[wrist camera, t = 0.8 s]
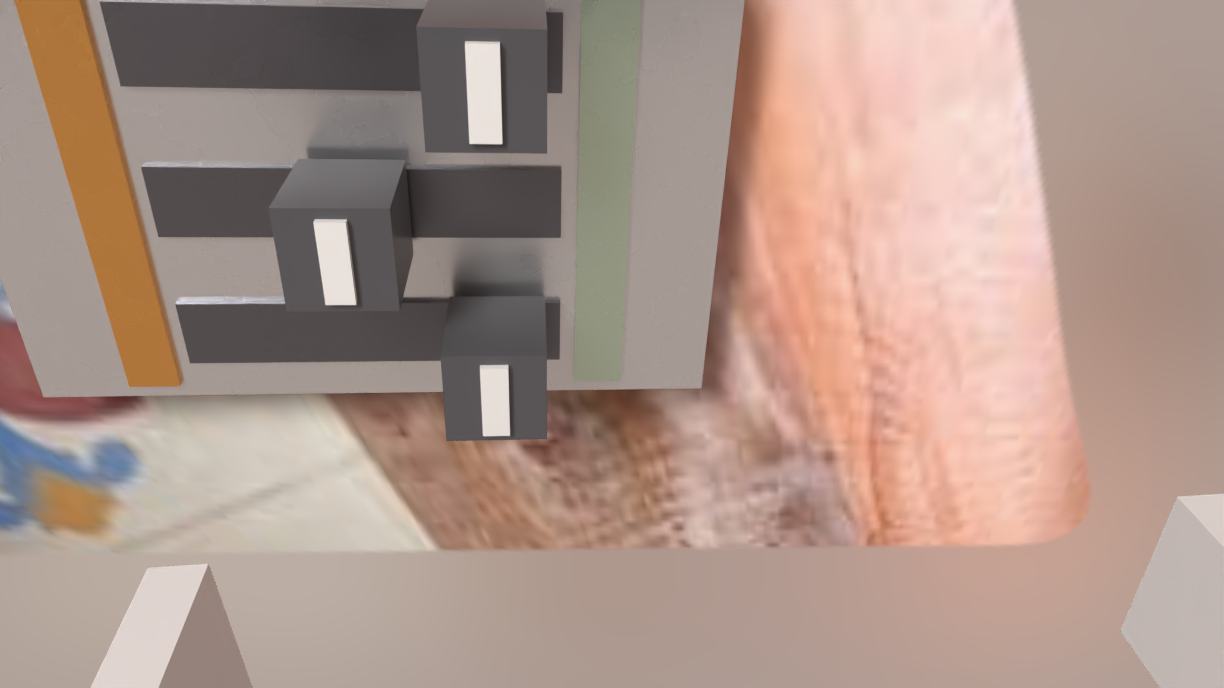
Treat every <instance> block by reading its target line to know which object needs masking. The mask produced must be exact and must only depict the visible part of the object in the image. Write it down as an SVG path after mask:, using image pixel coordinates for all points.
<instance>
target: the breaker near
mask: <svg viewBox="0 0 1224 688" xmlns="http://www.w3.org/2000/svg"><path fill="white" fill-rule="evenodd" d="M416 31H417V45H418V59H419V72H420V86H421V99H422V113H423V127H424V140H425V152H429V153H530V154H547V19H546V7H545V0H428V2H427V4H426V6H425V8H424V11H423V13H422V15H421V17H420V19H419V22H418V24H417V26H416Z"/></svg>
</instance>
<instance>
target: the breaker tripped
mask: <svg viewBox="0 0 1224 688" xmlns="http://www.w3.org/2000/svg"><path fill="white" fill-rule="evenodd" d="M269 214H270V220H271V226H272V231H273V237H274V243H275V248H276V254H277V260H278V265H279V271H280V277H281V282H282V288H283V294H284V300H285V305H286V311H400V308H401V304H402V300H403V296H404V291H405V287H406V283H407V279H408V275H409V271H410V267H411V262H412V258H413V254H414V253H413V241H412V229H411V218H410V206H409V195H408V183H407V171H406V160H376V159H298V160H297V162H296V164H295V165H294V167H293V169H292V170H291V172H290V173H289V175H288V177H287V178H286V180H285V182H284V183H283V185H282V187H281V188H280V190H279V192H278V193H277V195H276V197H275V198H274V200H273V201H272V203H271V205H270V206H269Z"/></svg>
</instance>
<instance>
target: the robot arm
mask: <svg viewBox="0 0 1224 688" xmlns="http://www.w3.org/2000/svg"><path fill="white" fill-rule="evenodd" d="M1120 631H1121V633H1122V634H1123V636H1124V637H1125V639H1126V640H1127V641H1128V643H1129V644H1130V646H1131V647H1132V649H1133V650H1134V651H1135V653H1136V654H1137V656H1138V657H1139V658H1140V660H1141V661H1142V663H1143V664H1144V665H1145V667H1146V669H1147V670H1148V671H1149V673H1150V674H1151V676H1152V677H1153V679H1154V680H1155V681H1156V683H1157V684H1158V686H1159V687H1160V688H1224V494H1211V495H1196V496H1181V497H1177V499H1176V501H1175V504H1174V506H1173V508H1172V511H1171V513H1170V515H1169V518H1168V520H1167V522H1166V525H1165V527H1164V529H1163V532H1162V534H1161V536H1160V539H1159V541H1158V543H1157V546H1156V548H1155V550H1154V553H1153V555H1152V558H1151V560H1150V562H1149V564H1148V567H1147V569H1146V572H1145V574H1144V576H1143V579H1142V581H1141V583H1140V586H1139V588H1138V590H1137V593H1136V595H1135V597H1134V600H1133V602H1132V604H1131V607H1130V609H1129V612H1128V614H1127V616H1126V618H1125V621H1124V623H1123V625H1122V628H1121V630H1120ZM90 688H252V685H251V682H250V679H249V677H248V674H247V671H246V668H245V665H244V662H243V660H242V657H241V654H240V651H239V649H238V645H237V643H236V640H235V637H234V634H233V631H232V628H231V626H230V623H229V620H228V617H227V614H226V612H225V609H224V606H223V603H222V600H221V597H220V595H219V592H218V589H217V586H216V583H215V581H214V578H213V575H212V572H211V569H210V567H209V564H197V565H182V566H167V567H153V568H147V570H146V573H145V575H144V577H143V579H142V581H141V583H140V585H139V587H138V589H137V591H136V593H135V596H134V598H133V600H132V602H131V604H130V606H129V608H128V610H127V612H126V614H125V617H124V619H123V621H122V623H121V625H120V627H119V629H118V631H117V633H116V635H115V637H114V639H113V641H112V644H111V646H110V648H109V650H108V652H107V654H106V656H105V658H104V660H103V663H102V664H101V667H100V669H99V671H98V673H97V675H96V677H95V679H94V681H93V683H92V685H91V687H90Z"/></svg>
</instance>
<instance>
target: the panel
mask: <svg viewBox="0 0 1224 688" xmlns="http://www.w3.org/2000/svg"><path fill="white" fill-rule="evenodd" d="M427 2H428V0H0V278H1V281H2V283H3V286H4V289H5V292H6V294H7V297H8V300H9V303H10V306H11V308H12V311H13V314H14V317H15V319H16V322H17V325H18V328H19V330H20V333H21V336H22V339H23V341H24V344H25V347H26V350H27V353H28V355H29V358H30V361H31V364H32V366H33V369H34V372H35V375H36V377H37V380H38V383H39V386H40V388H41V391H42V394H43V397H94V396H168V395H242V394H317V393H391V392H443V385H442V372H441V358H440V356H441V350H442V343H443V336H444V330H445V323H446V316H447V310H448V303H449V297H485V296H545V313H546V342H547V390H614V389H688V388H701V387H702V379H703V370H704V361H705V352H706V343H707V334H708V325H709V316H710V307H711V298H712V289H713V280H714V271H715V262H716V253H717V245H718V236H719V227H720V218H721V209H722V200H723V191H724V182H725V173H726V164H727V155H728V146H729V137H730V128H731V120H732V111H733V102H734V93H735V84H736V75H737V66H738V57H739V48H740V39H741V30H742V21H743V12H744V3H745V0H545V7H546V19H547V154H530V153H429V152H425V140H424V127H423V113H422V99H421V86H420V72H419V59H418V45H417V31H416V26H417V24H418V22H419V19H420V17H421V15H422V13H423V11H424V8H425V6H426V4H427ZM298 159H376V160H406V171H407V183H408V195H409V206H410V218H411V229H412V241H413V253H414V254H413V258H412V262H411V267H410V271H409V275H408V279H407V283H406V287H405V291H404V296H403V300H402V304H401V308H400V311H286V305H285V300H284V294H283V288H282V282H281V277H280V271H279V265H278V260H277V254H276V248H275V243H274V237H273V231H272V226H271V220H270V214H269V206H270V205H271V203H272V201H273V200H274V198H275V197H276V195H277V193H278V192H279V190H280V188H281V187H282V185H283V183H284V182H285V180H286V178H287V177H288V175H289V173H290V172H291V170H292V169H293V167H294V165H295V164H296V162H297V160H298Z"/></svg>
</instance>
